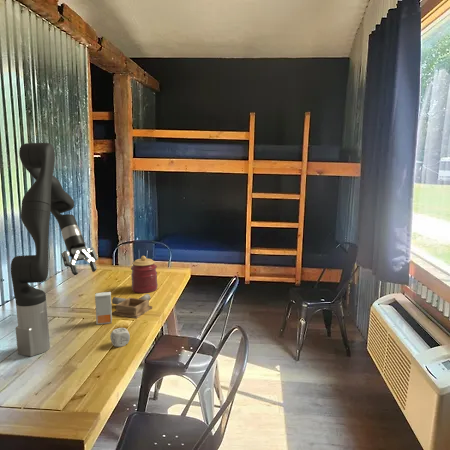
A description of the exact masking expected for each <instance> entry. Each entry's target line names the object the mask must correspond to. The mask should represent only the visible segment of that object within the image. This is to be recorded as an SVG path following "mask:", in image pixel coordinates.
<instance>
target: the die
mask: <svg viewBox="0 0 450 450" xmlns="http://www.w3.org/2000/svg"><path fill="white" fill-rule="evenodd" d="M130 335H131V334H130V332H129V330H128V329H127V328H125V327H118V328H115V329H113V330H112V331H111V333H110V341H111V344H112V346H113V347H115V348H122V347H124V346H127V345H128V344H129V342H130V339H131V337H130ZM126 344H127V345H126Z"/></svg>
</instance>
